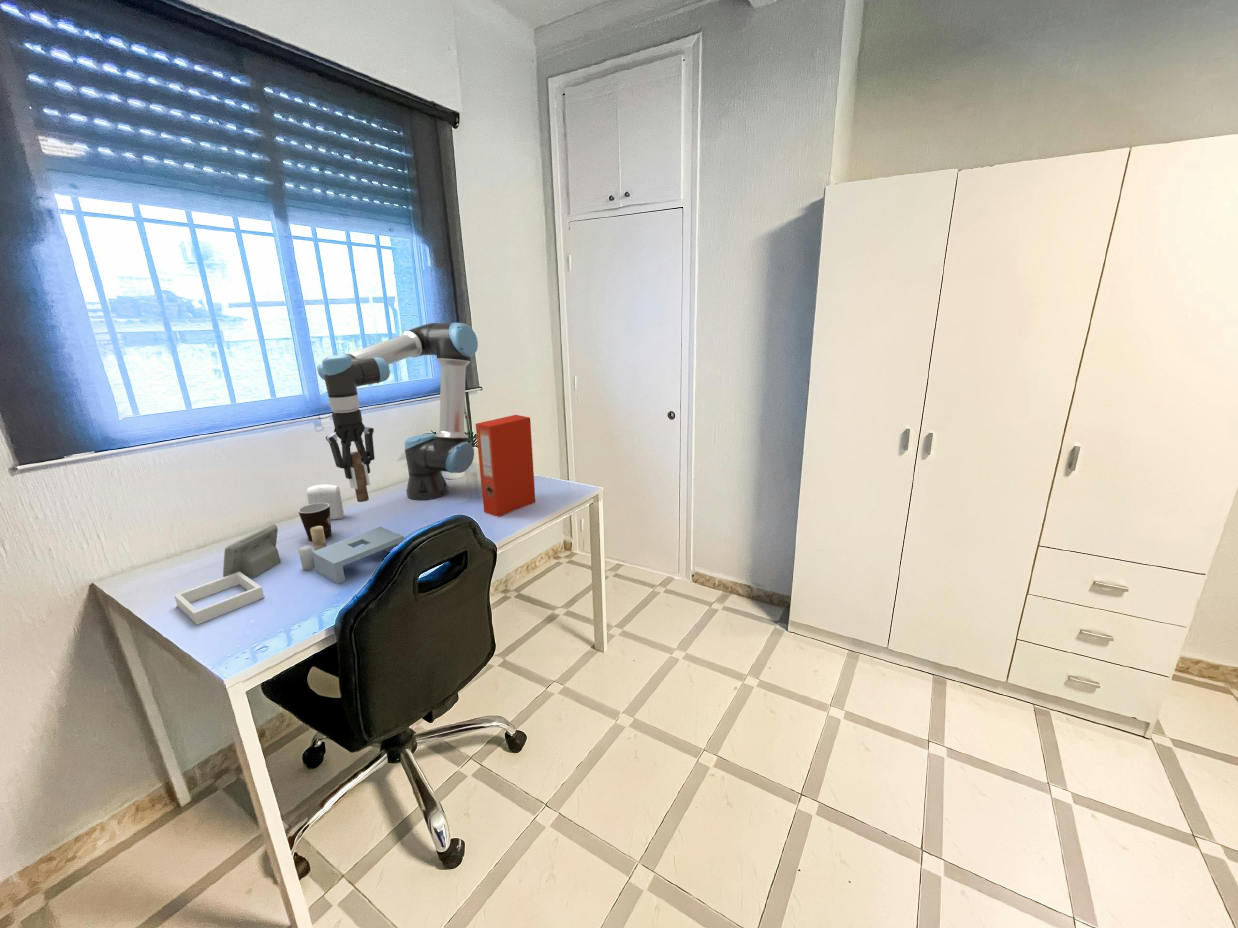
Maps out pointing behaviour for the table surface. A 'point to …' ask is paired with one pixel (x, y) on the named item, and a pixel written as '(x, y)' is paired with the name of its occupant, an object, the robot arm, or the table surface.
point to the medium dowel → (318, 537)
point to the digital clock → (252, 553)
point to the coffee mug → (316, 518)
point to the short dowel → (306, 557)
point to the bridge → (353, 551)
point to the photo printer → (327, 498)
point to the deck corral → (222, 606)
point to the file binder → (506, 464)
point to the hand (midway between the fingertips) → (360, 485)
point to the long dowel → (359, 477)
